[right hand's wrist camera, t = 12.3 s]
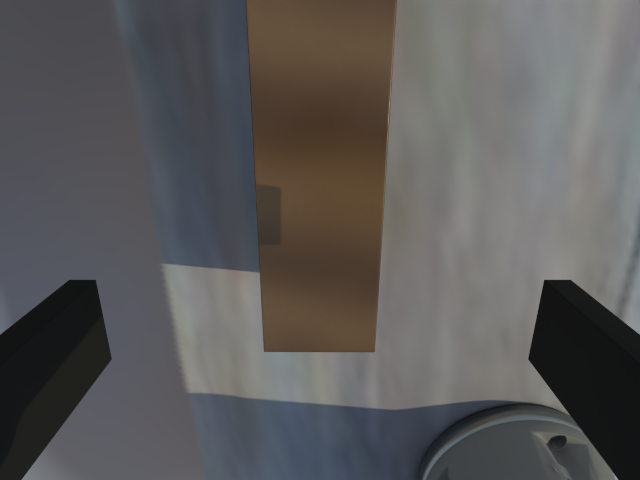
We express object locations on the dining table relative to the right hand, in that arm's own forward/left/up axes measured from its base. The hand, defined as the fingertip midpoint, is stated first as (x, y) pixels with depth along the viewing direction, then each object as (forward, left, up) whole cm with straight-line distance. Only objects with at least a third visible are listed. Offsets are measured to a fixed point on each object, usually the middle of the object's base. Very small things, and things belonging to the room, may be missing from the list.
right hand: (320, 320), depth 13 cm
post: (+16, +27, -16) cm, 35 cm away
